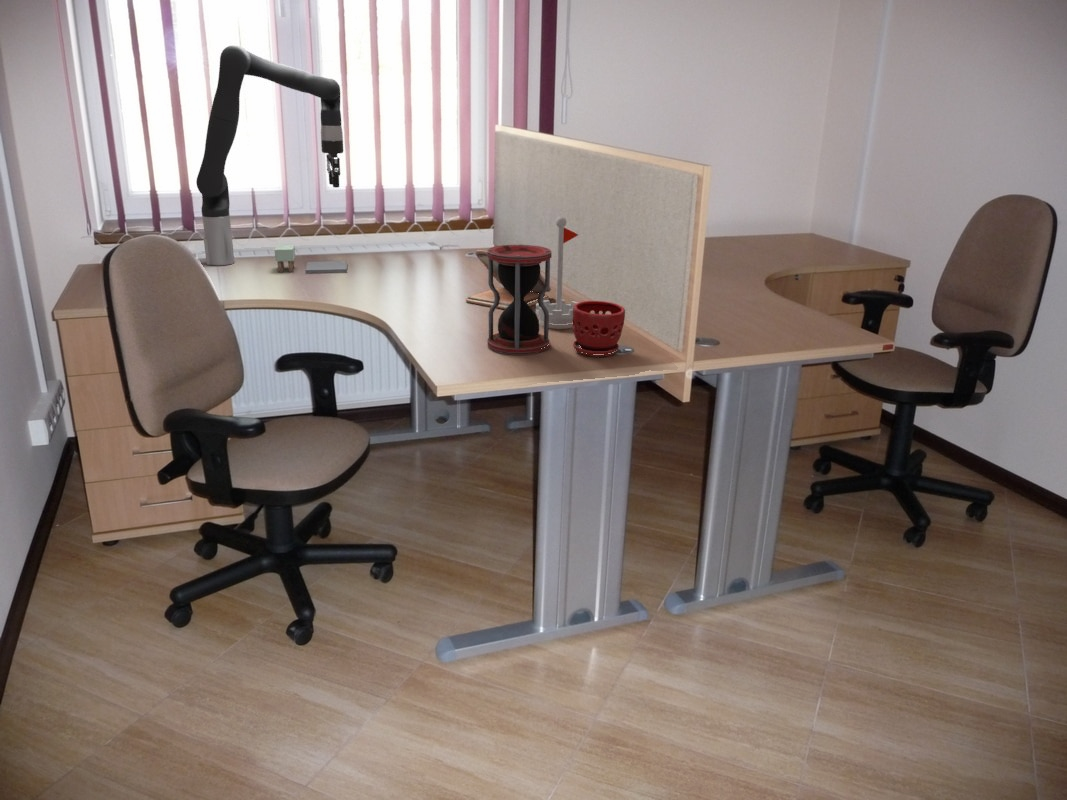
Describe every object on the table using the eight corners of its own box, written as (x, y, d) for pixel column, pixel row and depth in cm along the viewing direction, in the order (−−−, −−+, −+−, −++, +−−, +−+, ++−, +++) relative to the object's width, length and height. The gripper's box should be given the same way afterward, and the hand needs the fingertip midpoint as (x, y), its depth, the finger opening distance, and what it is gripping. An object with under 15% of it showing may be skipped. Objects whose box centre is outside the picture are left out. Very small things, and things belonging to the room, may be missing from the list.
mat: (305, 273, 298) (305, 270, 298) (307, 265, 311) (307, 261, 311) (346, 272, 301) (346, 269, 301) (347, 264, 314) (347, 261, 313)
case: (553, 299, 271) (554, 248, 265) (516, 312, 254) (516, 259, 249) (501, 290, 281) (500, 241, 276) (461, 303, 265) (460, 251, 259)
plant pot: (568, 358, 214) (570, 311, 209) (574, 343, 226) (576, 298, 222) (621, 361, 212) (623, 314, 208) (624, 346, 224) (626, 301, 220)
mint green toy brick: (276, 272, 299) (274, 249, 296) (278, 267, 307) (276, 245, 304) (294, 272, 300) (292, 249, 297) (296, 266, 308) (294, 244, 305)
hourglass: (550, 337, 230) (552, 244, 221) (548, 356, 215) (551, 257, 206) (490, 336, 231) (489, 243, 222) (484, 354, 215) (484, 255, 207)
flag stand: (543, 331, 236) (545, 221, 226) (530, 318, 248) (531, 213, 237) (587, 328, 240) (592, 219, 229) (572, 316, 251) (576, 212, 241)
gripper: (318, 137, 308) (320, 183, 314) (324, 140, 296) (326, 188, 301) (339, 137, 311) (341, 183, 316) (346, 140, 298) (348, 188, 304)
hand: (334, 185), depth 309 cm, fingers open, 8 cm apart
